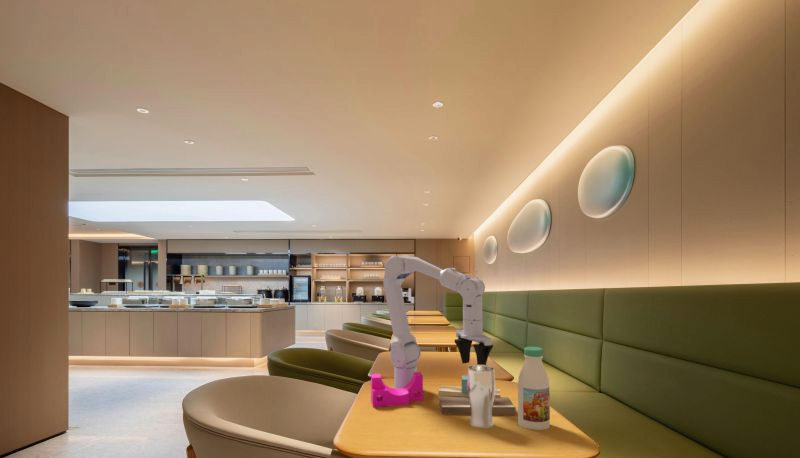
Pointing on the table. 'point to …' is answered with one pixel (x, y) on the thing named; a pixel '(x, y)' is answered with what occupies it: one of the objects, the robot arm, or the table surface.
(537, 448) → the table surface
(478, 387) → the silver metal tumbler
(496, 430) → the table surface
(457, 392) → the tan tray
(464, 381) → the teal cube
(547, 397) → the milk bottle
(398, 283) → the robot arm
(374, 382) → the pink pipe cradle
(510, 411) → the dock
